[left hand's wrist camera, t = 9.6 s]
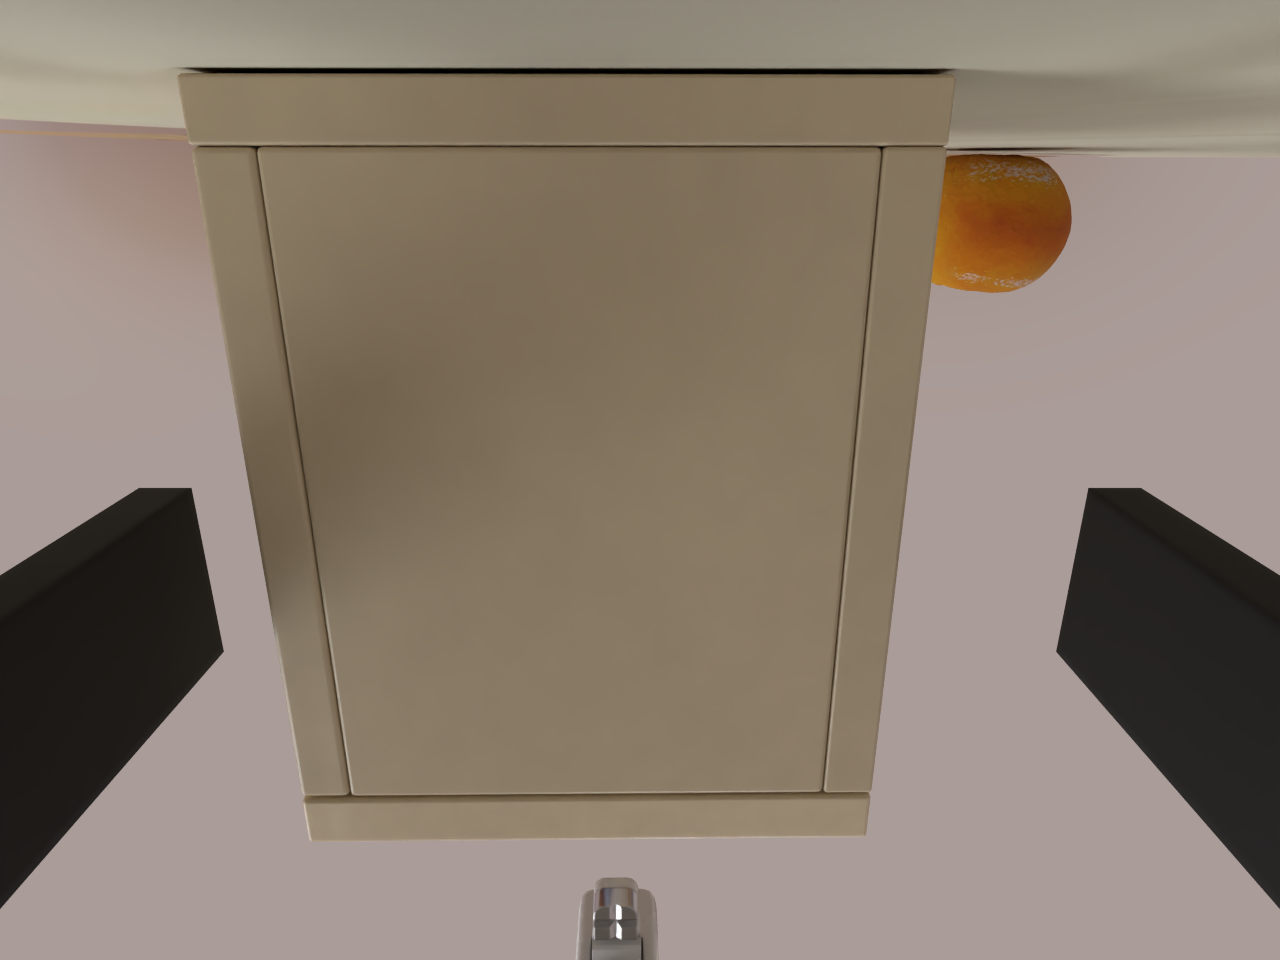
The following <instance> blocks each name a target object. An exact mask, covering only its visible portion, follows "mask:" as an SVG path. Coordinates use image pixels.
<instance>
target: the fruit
mask: <svg viewBox="0 0 1280 960" xmlns="http://www.w3.org/2000/svg"><path fill="white" fill-rule="evenodd" d="M1071 219H1072V218H1071V205H1070V200H1069V197H1068V194H1067V192H1066V189H1065V186H1064V184H1063V183H1062V181H1061V179H1060V178H1059V176H1058V174H1057V173H1056V172H1055V171H1054V170H1053V169H1052V168H1051V167H1050V165H1049V164H1047V163H1045V162H1044V161H1042V160H1041V159H1039V158H1035V157H1029V156H1022V155H991V154H970V155H956V156H948V157H946V162H945V170H944V179H943V187H942V195H941V204H940V212H939V221H938V229H937V238H936V246H935V255H934V263H933V272H932V280H931V282H932V283H934V284H936V285H945V286H948V287H951V288H955V289H960V290H966V291H981V292H989V293H994V292H1010V291H1013V290H1016V289H1019V288H1022V287H1024V286H1027V285H1029V284H1031V283H1032V282H1034V281H1035V280H1037V279H1038V278H1040V277H1041V276H1042V275H1043V274H1044V273H1045V272H1046V271H1047V270H1048V269H1049V268H1050V267H1051V266H1052V264H1053V263H1054V262H1055V261H1056V259H1057V258H1058V256H1059V255H1060V253H1061V252H1062V250H1063V248H1064V246H1065V244H1066V242H1067V239H1068V236H1069V233H1070V229H1071Z"/></svg>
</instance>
